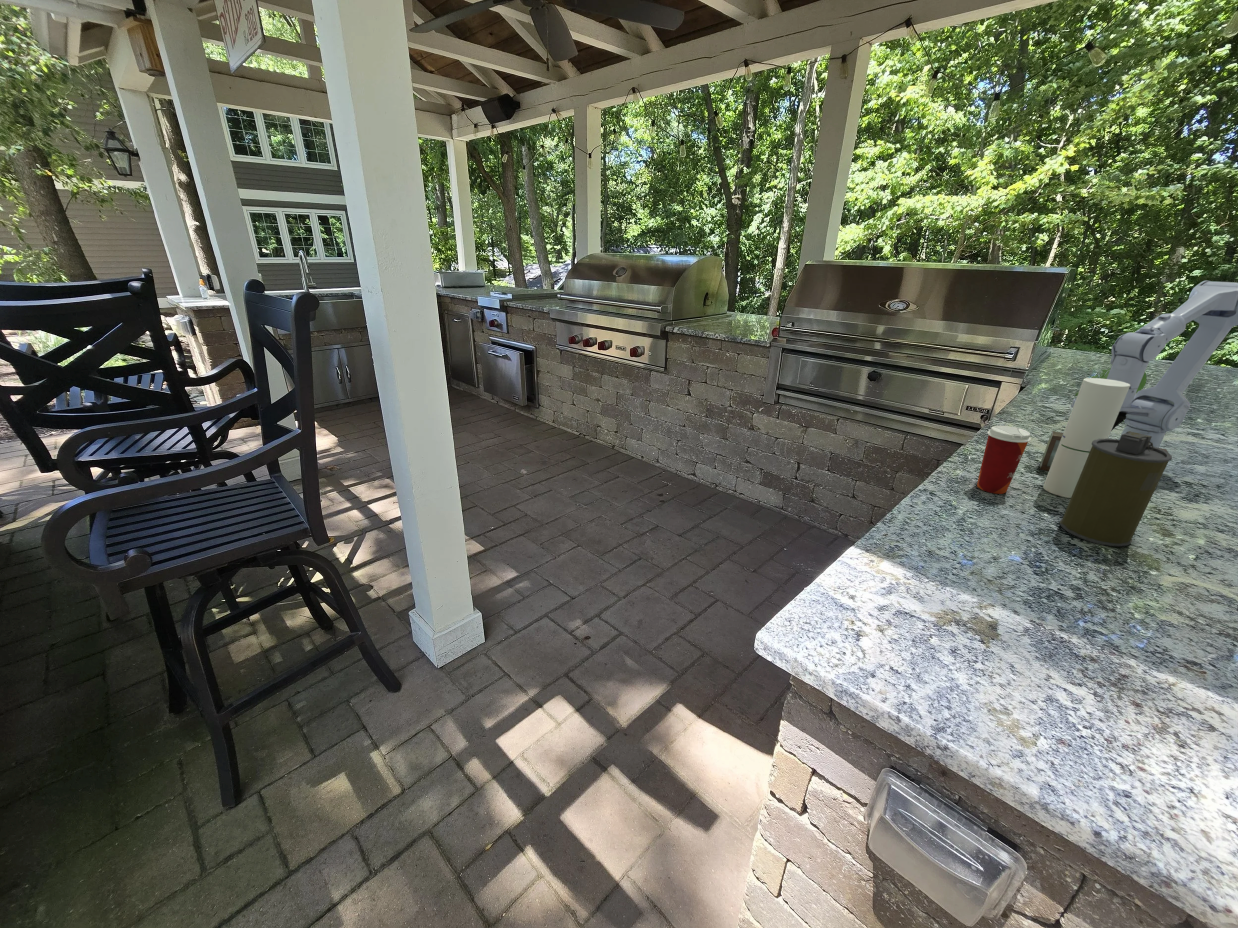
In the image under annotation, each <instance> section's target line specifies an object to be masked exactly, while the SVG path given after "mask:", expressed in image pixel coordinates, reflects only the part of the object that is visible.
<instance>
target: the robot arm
mask: <svg viewBox="0 0 1238 928" xmlns="http://www.w3.org/2000/svg"><path fill="white" fill-rule="evenodd" d="M1192 321H1194V322H1196V323H1198V325H1199V326H1198V328H1196V331H1195V332H1194V333H1193V334H1192V336H1191V337H1190V339H1188V341H1187V343H1186V344H1185V345H1184V347H1182V349H1181V350H1180V352H1179V353H1178V355H1177V356H1176V358H1174V360H1173V361H1172V363H1171V364H1170V366H1169V367H1168V368H1167V370H1166V371H1165V372H1164V374H1163V375H1162V377H1161V378H1160V379H1159V381H1158V382H1157V383H1156V384H1155V385H1154V386H1151V387H1147V388H1143V389H1142V390H1140V391H1138V392H1137V389H1138V387H1139V384H1140V382H1141V380H1142V377H1143V375H1144V372H1145V373H1146V371H1147V368H1148V365H1149V362H1151V361H1153V360H1155V359H1156V358H1157V357H1158V356H1159V355H1160V353H1161V351H1162V350H1164V349H1165V347H1166V345H1167V344H1168V343H1169V342H1171V341H1172V340H1174V339H1175V338H1177V337H1178V336H1180V335H1181V334H1183V333H1184V332H1185V330H1186V327H1187V324H1189V323H1190V322H1192ZM1237 326H1238V282H1233V281H1232V282H1231V281H1211V280H1207V279H1206V280H1203V281H1201V282H1199V283H1198V284H1196V285H1195V286H1194V287H1193V288H1192V289H1191V291H1190V293H1189V295H1188V298H1187V300H1186V301H1185V302H1183V303H1182V304H1181V305H1180V306H1178V307H1177V308H1175V310H1174V311H1172V312H1171V313H1162V314H1160V315H1159V316H1156V317H1155V318H1153V319H1152V320H1151V321H1149V322H1148V323H1146V324H1145V325H1143V326H1142V327H1140V328H1138V329H1137V330H1135V331H1134V332H1132V331H1130V332H1126V333H1124V334H1121V335H1120V336H1119V337H1118V338H1116V340H1115V342H1114V344H1112V346H1111V350H1110V351H1111V358H1110V360H1109V362H1110V365H1111V366H1110V368H1111V369H1110V372H1109V374H1108V377H1107V379H1110V380H1116V381H1121V382H1125V383H1128V384H1130V387H1129V390H1128V392H1127V394H1126V397H1125V399H1124V402H1123V404H1122V406H1121V409H1120V411H1119V414H1118V416H1117V418H1116V421H1115V423H1114V426H1113V428H1112V430H1111V432H1112V431H1113V430H1115V428H1117V427H1118V426H1119V425H1120V424H1122V423H1123V424H1125V427H1124V428H1123V430H1122V431H1121V433H1120V436H1119V438H1118V439H1119V440H1120V438H1121V436H1122V434H1125V433H1127V432H1129V431H1131V432H1135V433H1140V434H1144V435H1148V436H1152V437H1151V440H1150V442H1151V443H1153V447H1157V448H1160V446H1161V444H1162V442H1163V440H1164V438H1165V436H1166V433H1167V432H1172V431H1173V430H1175V429H1177V428H1179V427H1180V426H1181V425H1182V423H1183V422H1184V420H1185V418H1186V415H1187V413H1188V411H1189V410H1190V408H1191V403H1190V401H1189V399H1187V397H1186V396H1185V395H1184V393H1185V391H1186V390H1187V388H1188V387H1189V385H1190V384H1191V383H1192V382H1193V380H1194V379H1195V378H1196V376H1197V374H1198V373H1199V372H1200V371H1201V370H1202V369H1203V367H1204V365H1205V364H1206V363H1207V361H1208V360H1209V359H1210V358H1211V356H1212V355H1213V353H1214V352H1215V351H1216V350H1217V348H1218V347H1219V346H1220V344H1221V343H1222V342H1223V341H1224V339H1225V338H1226V336H1227V335H1228V333H1229V332H1230V331H1231V330H1232V328H1234V327H1237ZM1136 392H1137V393H1136ZM1076 398H1077V397H1076ZM1076 398H1073V399H1072V401H1071V403H1070V407H1071V408H1072V409H1073V406H1074V404H1075V401H1076ZM1123 421H1124V422H1123ZM1126 424H1127V425H1126Z"/></svg>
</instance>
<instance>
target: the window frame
mask: <svg viewBox="0 0 1238 928" xmlns="http://www.w3.org/2000/svg"><path fill="white" fill-rule="evenodd" d="M1063 433H1064V432H1063V431H1062V432H1061V431H1055V430H1051V433H1050V435H1049V437H1048V441H1047V444H1046V447H1045V449H1044V452H1043V454H1042V457H1041V460H1040V462H1039V470H1042V471H1046V472H1049V470H1050V467H1051V465H1052V462H1053V459H1054V457H1055V454H1056V451H1057V449H1058V446H1059V443H1060V441H1061V438H1062V435H1063ZM1159 449H1161V450H1164V451H1166V452H1168V453H1169V451H1168V450H1167V448H1162V447H1159Z"/></svg>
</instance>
